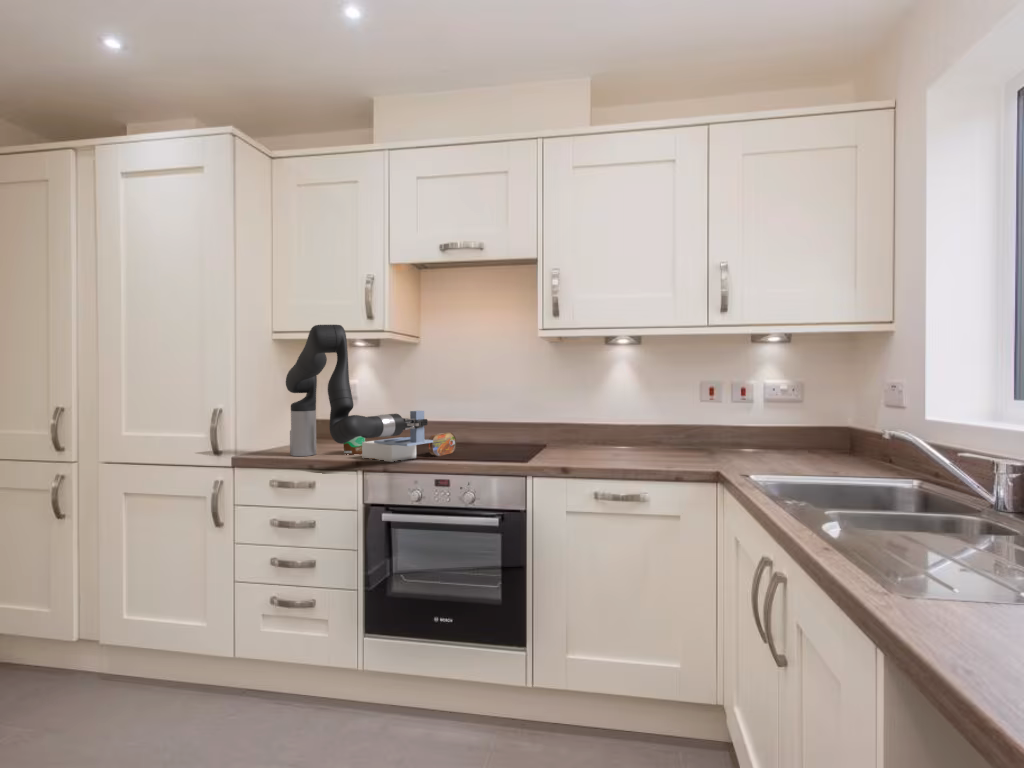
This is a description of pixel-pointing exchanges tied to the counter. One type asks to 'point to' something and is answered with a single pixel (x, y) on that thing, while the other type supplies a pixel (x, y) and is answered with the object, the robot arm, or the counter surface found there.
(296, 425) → the robot arm
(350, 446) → the food container
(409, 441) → the lid
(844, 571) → the counter surface
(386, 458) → the tub
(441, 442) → the tin
